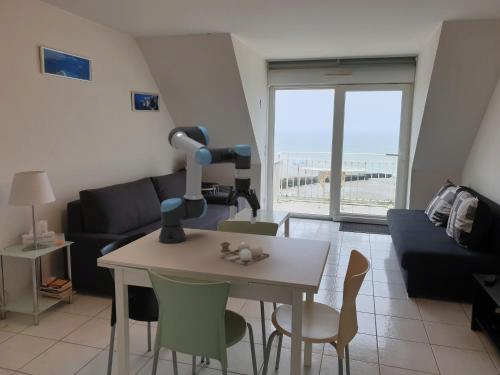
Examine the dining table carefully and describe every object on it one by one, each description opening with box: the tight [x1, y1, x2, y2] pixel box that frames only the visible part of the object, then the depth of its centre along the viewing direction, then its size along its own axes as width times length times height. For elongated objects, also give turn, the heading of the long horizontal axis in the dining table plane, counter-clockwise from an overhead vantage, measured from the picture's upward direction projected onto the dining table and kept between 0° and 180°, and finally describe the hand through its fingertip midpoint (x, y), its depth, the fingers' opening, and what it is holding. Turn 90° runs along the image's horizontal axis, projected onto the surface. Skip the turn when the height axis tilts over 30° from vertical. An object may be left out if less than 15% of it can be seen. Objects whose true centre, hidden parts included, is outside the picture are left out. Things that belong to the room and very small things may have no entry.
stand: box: [219, 241, 231, 254], centre depth 207 cm, size 5×5×5 cm
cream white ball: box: [250, 244, 264, 257], centre depth 197 cm, size 6×6×6 cm
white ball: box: [239, 249, 252, 262], centre depth 191 cm, size 6×6×6 cm
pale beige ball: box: [237, 241, 251, 252], centre depth 203 cm, size 6×6×6 cm
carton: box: [219, 248, 270, 267], centre depth 197 cm, size 18×18×2 cm
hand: (242, 221), depth 192 cm, fingers open, 13 cm apart
